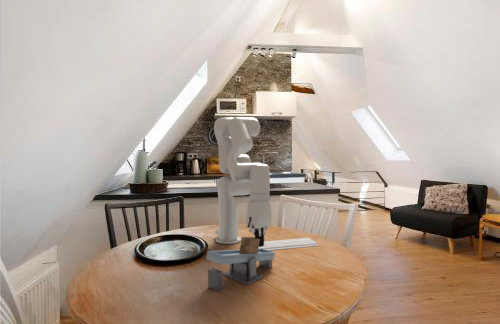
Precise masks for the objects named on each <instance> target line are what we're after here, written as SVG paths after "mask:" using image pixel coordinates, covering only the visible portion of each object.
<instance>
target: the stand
mask: <svg viewBox="0 0 500 324" xmlns="http://www.w3.org/2000/svg"><path fill="white" fill-rule="evenodd" d="M258 265H259V266H260V267H264V268H266V269H271V268H273V260H264V261H258ZM224 277H227V278H230V279H232V280H235V281H237V282H239V283H241V284H245V285H247V286H249V285H251V284H253V283H254V282H257V281H258V280H261V279H263V274H261V273H259V272H258V273H257V261H256V257H252V258H250V259H249V262H243V263H232V264H229V270H226V271H224V272H223V271H222V270H219V269H217V268H215V267H211V268H208V269H207V288H209V289H211V290H213V291H215V292H218V293H219V292H221V291H223V290H224Z"/></svg>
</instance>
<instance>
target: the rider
mask: <svg viewBox="0 0 500 324" xmlns="http://www.w3.org/2000/svg"><path fill="white" fill-rule="evenodd" d="M259 241H260V239H257V238H255V236H254V237H252V236H241V241H240V248H239V250H240V253H239V254H253V253H258V248H259Z"/></svg>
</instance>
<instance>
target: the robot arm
mask: <svg viewBox="0 0 500 324" xmlns="http://www.w3.org/2000/svg"><path fill="white" fill-rule="evenodd" d="M213 131H214V135H215V139H216V141H217V145H218V167H219V171H220V173H223V174H229V175H230V176H229V175H227V176H222V177H219V178H218V180H217V182H216V188H217V196H218V228H217V229H216V230H215V231H214V234H216V235H217V236H216V237H215V242H216V243H218V244H222V245H235V244H238V243H241V239H242V236H240V235H239V203H238V202H237V200H236V199H235V198H234V197H236V196H247V195H249V201H248V202H247V206H246V212H245V213H246V216H245V226H246V228H248V232H249V233H252V234H253V235H254V238H257V239H260V241H259V247H262V246H264V242H265V235H266V231H267V230H268V229H269V228H270V226H271V223H272V208H271V207H272V205H271V201H270V197H271V196H270V194H271V193H270V191H271V190H270V188H271V187H270V184H271V183H270V179H271V177H270V176H271V175H270V174H271V173H270V172H271V169H270V166H269V165H268V164H266V163H262V162H252V160H251V157H250V156H249V155H248V154H246V153H248V152H249V151H251V149H252V148H253V147H254V141H253V139H252V137H258V136H259V135H260V132H261V124H260V122H259V120H258V119H257V118H255V117H247V116H246V117H244V116H236V117H232V116H231V117H226V116H224V117H219V118H217V119H216V120H215V121H214V125H213Z"/></svg>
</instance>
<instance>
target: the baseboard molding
mask: <svg viewBox="0 0 500 324" xmlns="http://www.w3.org/2000/svg"><path fill="white" fill-rule="evenodd" d="M319 246H320V245H319V243H318V242H317V241H315V240H313V239H312V238H310V237H302V238H290V239H281V240H280V239H277V240H268V241H267V240H266V241H265V240H264V246H262V247H259V248H258V249H266V250H269V251H279V250H280V251H281V250H290V249H291V250H292V249H301V248H313V247H319Z"/></svg>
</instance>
